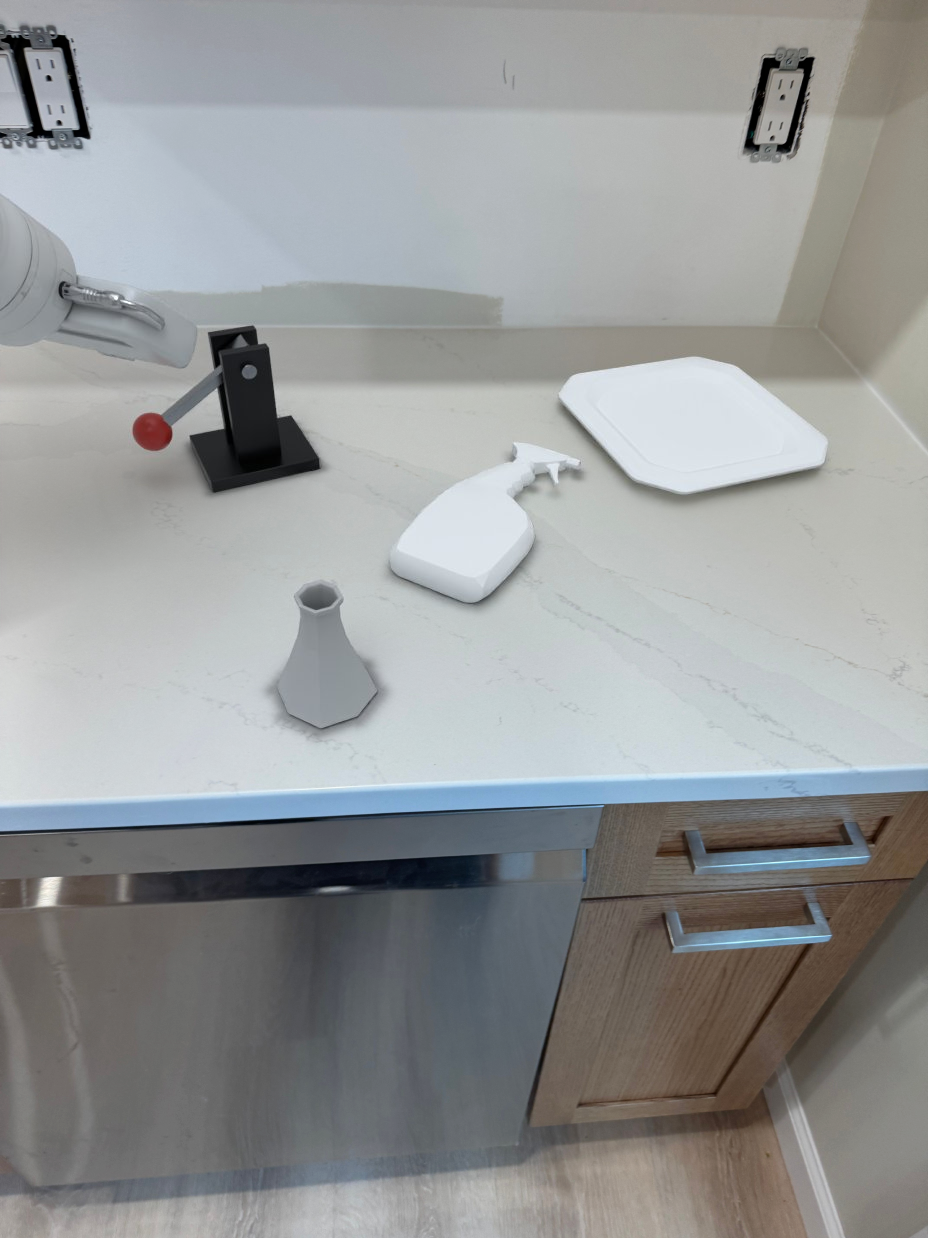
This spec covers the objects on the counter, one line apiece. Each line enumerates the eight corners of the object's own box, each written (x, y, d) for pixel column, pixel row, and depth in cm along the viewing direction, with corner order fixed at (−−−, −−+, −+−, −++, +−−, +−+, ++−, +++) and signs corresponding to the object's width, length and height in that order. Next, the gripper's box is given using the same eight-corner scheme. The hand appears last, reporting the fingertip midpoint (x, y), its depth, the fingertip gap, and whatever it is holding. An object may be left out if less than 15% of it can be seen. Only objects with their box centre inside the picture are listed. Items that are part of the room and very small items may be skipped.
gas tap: (213, 492, 80) (189, 371, 71) (191, 445, 86) (166, 328, 77) (320, 468, 84) (310, 351, 75) (292, 425, 90) (280, 310, 81)
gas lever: (156, 464, 79) (127, 441, 76) (148, 445, 81) (120, 422, 78) (269, 369, 77) (245, 342, 75) (258, 353, 80) (234, 326, 77)
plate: (648, 515, 81) (652, 497, 80) (541, 394, 97) (543, 377, 96) (845, 473, 89) (853, 455, 87) (715, 367, 105) (719, 350, 103)
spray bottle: (377, 571, 73) (499, 447, 89) (486, 615, 70) (592, 478, 86) (377, 545, 71) (501, 423, 87) (489, 589, 68) (596, 454, 84)
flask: (335, 643, 67) (328, 547, 60) (394, 693, 63) (393, 599, 56) (260, 688, 63) (243, 592, 56) (318, 745, 59) (307, 650, 52)
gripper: (148, 256, 55) (240, 335, 69) (-102, 210, 59) (32, 294, 73) (124, 347, 55) (221, 408, 69) (-124, 295, 59) (14, 363, 73)
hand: (122, 349), depth 71 cm, fingers closed
